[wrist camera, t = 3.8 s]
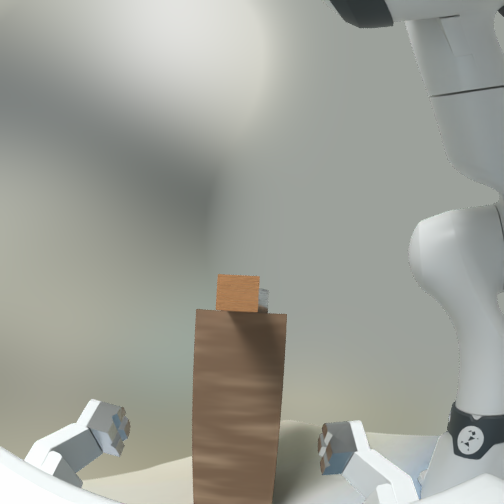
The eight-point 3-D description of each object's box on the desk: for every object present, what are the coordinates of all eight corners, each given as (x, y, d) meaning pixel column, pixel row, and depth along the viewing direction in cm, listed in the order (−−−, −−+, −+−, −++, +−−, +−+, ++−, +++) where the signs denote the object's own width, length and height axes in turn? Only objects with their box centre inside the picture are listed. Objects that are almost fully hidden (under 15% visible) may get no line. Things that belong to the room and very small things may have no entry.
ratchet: (223, 311, 40) (225, 281, 41) (266, 313, 40) (267, 283, 41) (192, 307, 19) (197, 247, 20) (281, 313, 19) (284, 251, 20)
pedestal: (208, 465, 37) (214, 310, 42) (265, 469, 37) (275, 314, 42) (194, 513, 23) (196, 308, 29) (269, 518, 23) (286, 314, 29)
